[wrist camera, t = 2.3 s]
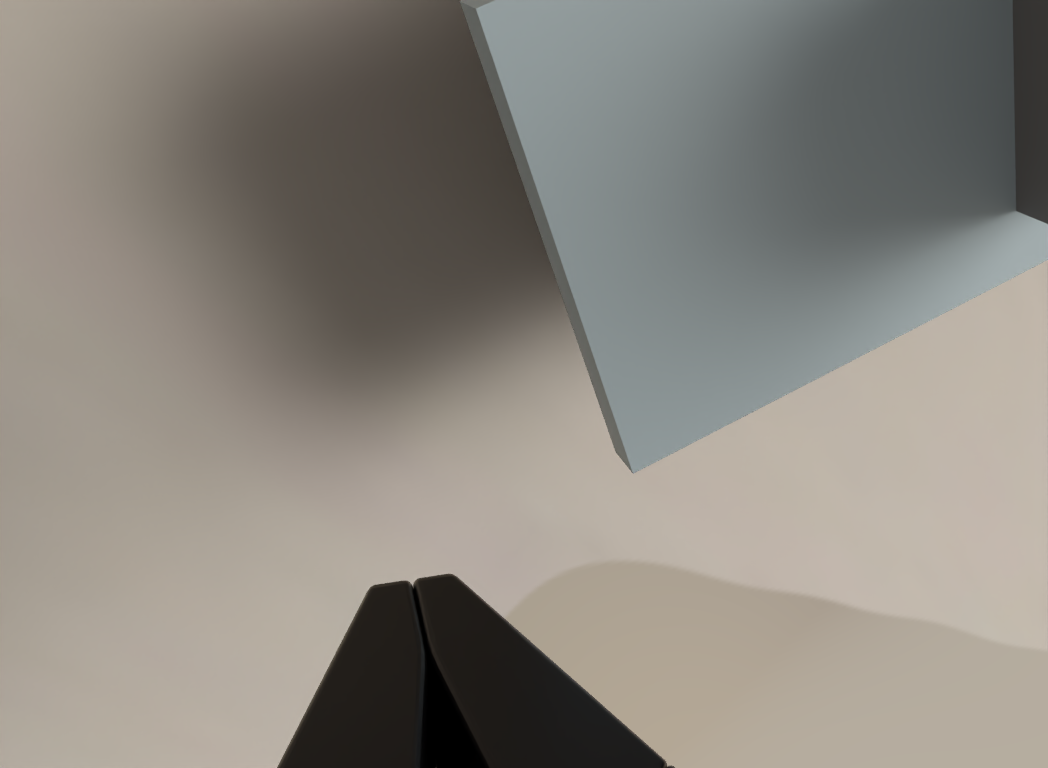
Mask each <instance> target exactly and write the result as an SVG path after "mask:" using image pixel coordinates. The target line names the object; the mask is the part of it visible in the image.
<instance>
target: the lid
mask: <svg viewBox="0 0 1048 768" xmlns="http://www.w3.org/2000/svg"><path fill="white" fill-rule="evenodd" d="M460 4H461V7H462V9H463V12H464V15H465V18H466V21H467V24H468V27H469V30H470V33H471V35H472V38H473V41H474V44H475V47H476V50H477V53H478V56H479V59H480V61H481V64H482V67H483V70H484V73H485V76H486V79H487V82H488V84H489V87H490V90H491V93H492V96H493V99H494V102H495V105H496V108H497V110H498V113H499V116H500V119H501V122H502V125H503V128H504V131H505V134H506V136H507V139H508V142H509V145H510V148H511V151H512V154H513V157H514V160H515V162H516V165H517V168H518V171H519V174H520V177H521V180H522V183H523V186H524V188H525V191H526V194H527V197H528V200H529V203H530V206H531V209H532V212H533V214H534V217H535V220H536V223H537V226H538V229H539V232H540V235H541V238H542V240H543V243H544V246H545V249H546V252H547V255H548V258H549V261H550V264H551V266H552V269H553V272H554V275H555V278H556V281H557V284H558V287H559V290H560V292H561V295H562V298H563V301H564V304H565V307H566V310H567V313H568V315H569V318H570V321H571V324H572V327H573V330H574V333H575V336H576V339H577V341H578V344H579V347H580V350H581V353H582V356H583V359H584V362H585V365H586V367H587V370H588V373H589V376H590V379H591V382H592V385H593V388H594V391H595V393H596V396H597V399H598V402H599V405H600V408H601V411H602V414H603V417H604V419H605V422H606V425H607V428H608V431H609V434H610V437H611V440H612V443H613V445H614V448H615V451H616V453H617V454H618V455H619V457H620V458H621V459H622V460H623V462H624V463H625V464H626V465H627V467H628V468H629V469H630V470H631V472H632V473H635V472H637V471H639V470H641V469H643V468H645V467H647V466H649V465H651V464H653V463H655V462H657V461H659V460H660V459H662V458H664V457H666V456H668V455H670V454H672V453H674V452H676V451H678V450H680V449H682V448H684V447H686V446H688V445H690V444H692V443H693V442H695V441H697V440H699V439H701V438H703V437H705V436H707V435H709V434H711V433H713V432H715V431H717V430H719V429H721V428H723V427H724V426H726V425H728V424H730V423H732V422H734V421H736V420H738V419H740V418H742V417H744V416H746V415H748V414H750V413H752V412H754V411H756V410H757V409H759V408H761V407H763V406H765V405H767V404H769V403H771V402H773V401H775V400H777V399H779V398H781V397H783V396H785V395H787V394H788V393H790V392H792V391H794V390H796V389H798V388H800V387H802V386H804V385H806V384H808V383H810V382H812V381H814V380H816V379H818V378H820V377H821V376H823V375H825V374H827V373H829V372H831V371H833V370H835V369H837V368H839V367H841V366H843V365H845V364H847V363H849V362H851V361H852V360H854V359H856V358H858V357H860V356H862V355H864V354H866V353H868V352H870V351H872V350H874V349H876V348H878V347H880V346H882V345H884V344H885V343H887V342H889V341H891V340H893V339H895V338H897V337H899V336H901V335H903V334H905V333H907V332H909V331H911V330H913V329H915V328H916V327H918V326H920V325H922V324H924V323H926V322H928V321H930V320H932V319H934V318H936V317H938V316H940V315H942V314H944V313H946V312H948V311H949V310H951V309H953V308H955V307H957V306H959V305H961V304H963V303H965V302H967V301H969V300H971V299H973V298H975V297H977V296H979V295H980V294H982V293H984V292H986V291H988V290H990V289H992V288H994V287H996V286H998V285H1000V284H1002V283H1004V282H1006V281H1008V280H1010V279H1012V278H1013V277H1015V276H1017V275H1019V274H1021V273H1023V272H1025V271H1027V270H1029V269H1031V268H1033V267H1035V266H1037V265H1039V264H1041V263H1043V262H1044V261H1046V260H1048V0H461V1H460Z"/></svg>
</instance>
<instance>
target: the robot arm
mask: <svg viewBox="0 0 1048 768" xmlns="http://www.w3.org/2000/svg"><path fill="white" fill-rule="evenodd" d="M277 768H675V767H674V766H668V767H667V763H666V761H665V760H664V759H663V758H662V757H661V756H659V755H658V754H657V753H656V752H655V751H654V750H653V749H651V748H650V747H649V746H648V745H647V744H646V743H645V742H644V741H642V740H641V739H640V738H639V737H638V736H637V735H636V734H634V733H633V732H632V731H631V730H630V729H629V728H628V727H627V726H625V725H624V724H623V723H622V722H621V721H620V720H619V719H617V718H616V717H615V716H614V715H613V714H612V713H611V712H610V711H608V710H607V709H606V708H605V707H604V706H603V705H602V704H600V703H599V702H598V701H597V700H596V699H595V698H594V697H593V696H591V695H590V694H589V693H588V692H587V691H586V690H585V689H583V688H582V687H581V686H580V685H579V684H578V683H577V682H576V681H574V680H573V679H572V678H571V677H570V676H569V675H568V674H566V673H565V672H564V671H563V670H562V669H561V668H559V667H558V666H557V665H556V664H555V663H554V662H553V661H552V660H550V659H549V658H548V657H547V656H546V655H545V654H544V653H543V652H542V651H540V650H539V649H538V648H537V647H536V646H535V645H533V644H532V643H531V642H530V641H529V640H528V639H527V638H526V637H525V636H523V635H522V634H521V633H520V632H519V631H518V630H517V629H515V628H514V627H513V626H512V625H511V624H510V623H509V622H508V621H506V620H505V619H504V618H503V617H502V616H501V615H500V614H498V613H497V612H496V611H495V610H494V609H493V608H492V607H491V606H489V605H488V604H487V603H486V602H485V601H484V600H483V599H481V598H480V597H479V596H478V595H477V594H476V593H475V592H474V591H472V590H471V589H470V588H469V587H468V586H467V585H466V584H464V583H463V582H462V581H461V580H460V579H459V578H458V577H456V576H455V575H453V574H444V575H437V576H431V577H424V578H419V579H417V580H416V581H415V582H414V584H413V586H412V584H411V583H410V582H408V581H398V582H391V583H385V584H378V585H374V586H372V587H370V589H369V590H368V592H367V593H366V595H365V597H364V599H363V601H362V603H361V605H360V607H359V609H358V611H357V613H356V615H355V617H354V619H353V621H352V623H351V625H350V626H349V628H348V630H347V632H346V634H345V636H344V638H343V640H342V642H341V644H340V646H339V648H338V650H337V652H336V654H335V656H334V658H333V660H332V662H331V664H330V666H329V667H328V669H327V671H326V673H325V675H324V677H323V679H322V681H321V683H320V685H319V687H318V689H317V691H316V693H315V695H314V697H313V699H312V701H311V703H310V705H309V707H308V708H307V710H306V712H305V714H304V716H303V718H302V720H301V722H300V724H299V726H298V728H297V730H296V732H295V734H294V736H293V738H292V740H291V742H290V744H289V746H288V748H287V749H286V751H285V753H284V755H283V757H282V759H281V761H280V763H279V765H278V767H277Z"/></svg>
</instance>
